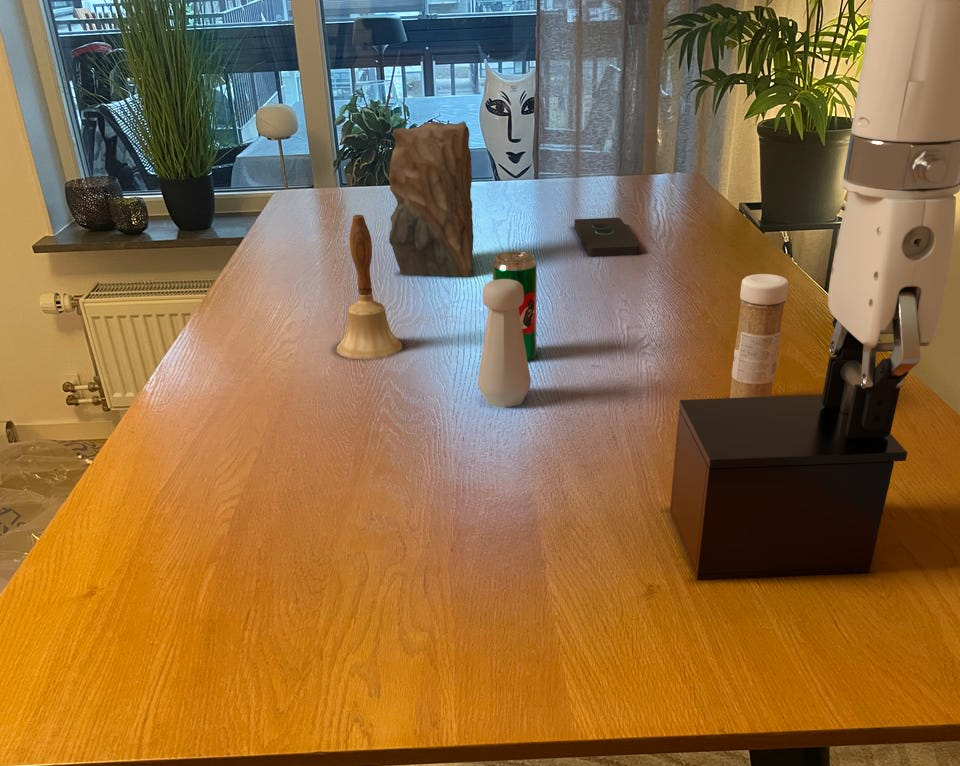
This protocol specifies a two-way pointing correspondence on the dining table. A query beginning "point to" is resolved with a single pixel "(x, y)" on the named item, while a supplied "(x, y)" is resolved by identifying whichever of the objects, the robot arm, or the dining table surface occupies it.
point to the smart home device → (606, 237)
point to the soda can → (524, 272)
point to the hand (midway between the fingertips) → (854, 418)
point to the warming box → (775, 515)
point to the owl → (432, 200)
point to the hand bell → (366, 306)
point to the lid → (783, 430)
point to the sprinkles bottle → (758, 335)
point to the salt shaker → (503, 346)
